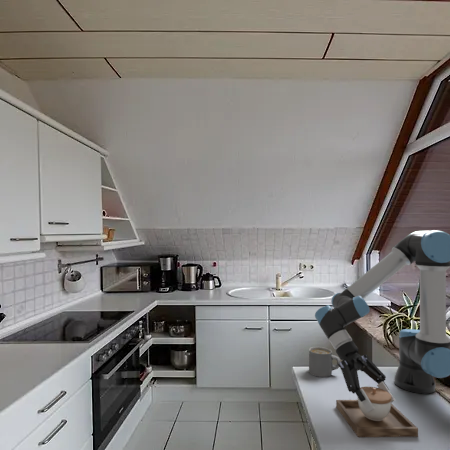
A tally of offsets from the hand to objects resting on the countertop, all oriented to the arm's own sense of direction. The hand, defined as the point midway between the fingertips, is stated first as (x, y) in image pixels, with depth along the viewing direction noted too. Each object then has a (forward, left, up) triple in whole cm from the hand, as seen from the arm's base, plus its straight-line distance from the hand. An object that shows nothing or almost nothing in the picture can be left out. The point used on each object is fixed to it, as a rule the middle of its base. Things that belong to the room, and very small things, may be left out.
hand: (382, 406), depth 118 cm
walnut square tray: (+1, -3, -6) cm, 7 cm away
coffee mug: (+5, -43, -6) cm, 43 cm away
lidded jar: (+2, -3, -5) cm, 6 cm away
